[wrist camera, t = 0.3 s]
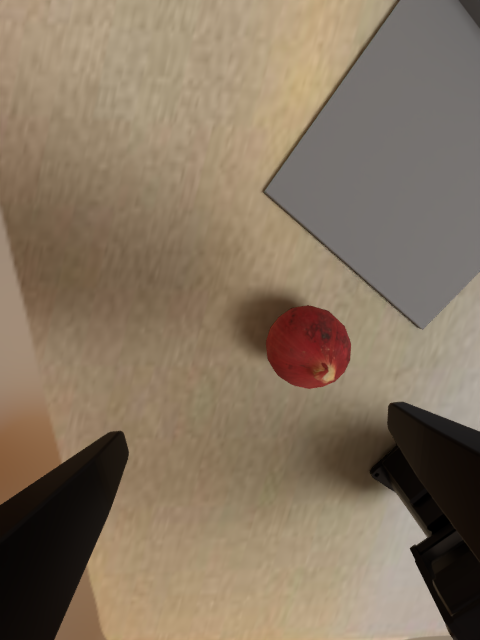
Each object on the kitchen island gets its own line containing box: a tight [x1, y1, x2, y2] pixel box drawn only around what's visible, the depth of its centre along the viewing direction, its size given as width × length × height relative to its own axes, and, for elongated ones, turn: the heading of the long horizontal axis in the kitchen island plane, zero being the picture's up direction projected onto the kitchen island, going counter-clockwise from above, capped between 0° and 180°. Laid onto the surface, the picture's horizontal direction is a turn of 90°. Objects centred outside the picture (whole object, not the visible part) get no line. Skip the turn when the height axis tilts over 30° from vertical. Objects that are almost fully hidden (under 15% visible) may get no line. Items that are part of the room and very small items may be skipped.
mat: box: [264, 0, 480, 329], centre depth 16 cm, size 18×17×3 cm
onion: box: [266, 305, 351, 389], centre depth 17 cm, size 6×6×8 cm
